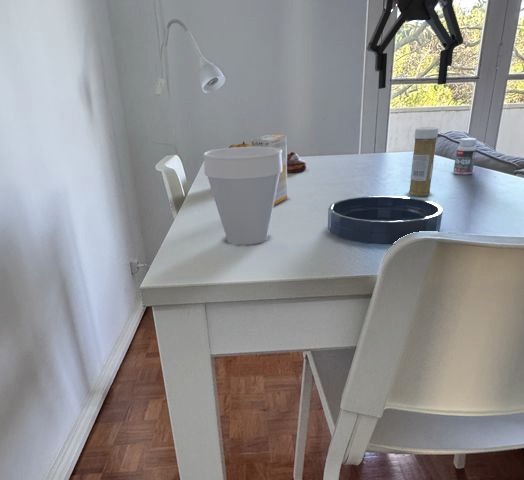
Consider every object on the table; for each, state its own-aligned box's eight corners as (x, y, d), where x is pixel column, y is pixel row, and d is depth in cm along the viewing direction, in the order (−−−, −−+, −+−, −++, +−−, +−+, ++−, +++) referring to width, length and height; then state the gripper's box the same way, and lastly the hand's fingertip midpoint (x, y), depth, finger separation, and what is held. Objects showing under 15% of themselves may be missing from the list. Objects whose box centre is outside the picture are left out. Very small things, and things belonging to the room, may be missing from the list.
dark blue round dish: (416, 215, 88) (418, 193, 86) (457, 244, 72) (461, 218, 70) (319, 220, 88) (320, 198, 86) (340, 250, 72) (341, 224, 70)
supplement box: (268, 197, 107) (266, 134, 100) (288, 198, 105) (287, 134, 99) (252, 205, 101) (248, 138, 94) (272, 207, 99) (270, 139, 92)
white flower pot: (288, 247, 74) (287, 154, 67) (210, 252, 73) (201, 158, 67) (279, 227, 85) (277, 145, 78) (211, 230, 84) (203, 148, 77)
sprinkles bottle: (434, 194, 103) (443, 127, 97) (420, 197, 101) (429, 129, 95) (417, 191, 107) (425, 126, 100) (403, 194, 105) (410, 128, 98)
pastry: (290, 168, 143) (289, 150, 140) (311, 169, 139) (312, 151, 136) (275, 172, 137) (275, 153, 134) (298, 173, 133) (298, 154, 131)
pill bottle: (450, 174, 124) (456, 139, 120) (455, 171, 128) (461, 137, 123) (469, 175, 122) (475, 140, 118) (474, 172, 125) (480, 138, 121)
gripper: (471, -32, 99) (458, 83, 108) (354, -26, 98) (352, 90, 107) (489, -43, 92) (474, 81, 102) (364, -36, 91) (361, 89, 101)
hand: (411, 86), depth 105 cm, fingers open, 13 cm apart
